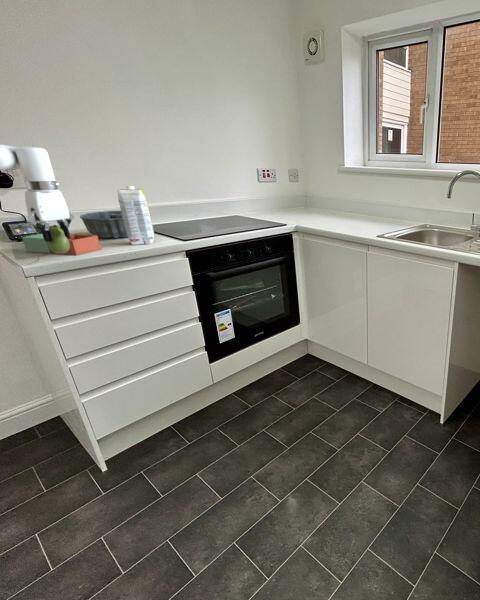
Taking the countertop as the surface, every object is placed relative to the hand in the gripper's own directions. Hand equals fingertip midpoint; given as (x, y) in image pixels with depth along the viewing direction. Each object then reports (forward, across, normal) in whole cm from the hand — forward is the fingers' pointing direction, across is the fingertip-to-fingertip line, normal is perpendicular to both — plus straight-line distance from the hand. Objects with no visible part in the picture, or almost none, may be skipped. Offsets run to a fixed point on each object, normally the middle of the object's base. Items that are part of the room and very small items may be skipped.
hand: (57, 239), depth 124 cm
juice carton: (+7, -30, +5) cm, 32 cm away
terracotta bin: (+7, -11, -7) cm, 15 cm away
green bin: (+8, -11, -18) cm, 23 cm away
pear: (+5, 0, 0) cm, 5 cm away
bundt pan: (+7, -42, -17) cm, 46 cm away
